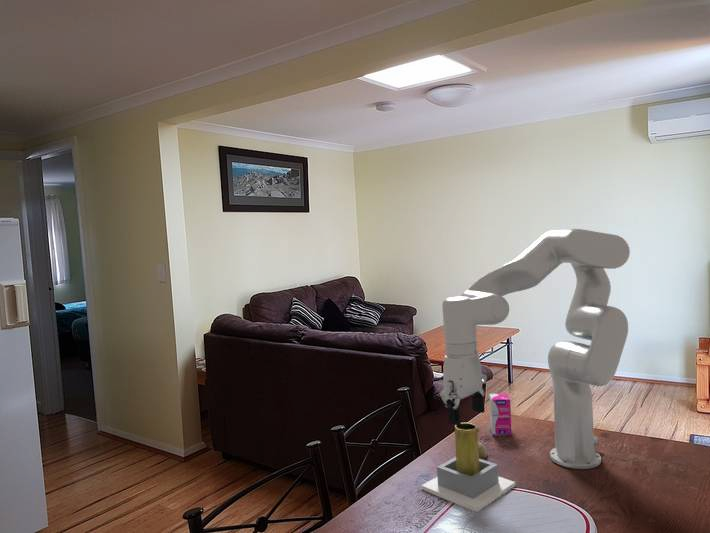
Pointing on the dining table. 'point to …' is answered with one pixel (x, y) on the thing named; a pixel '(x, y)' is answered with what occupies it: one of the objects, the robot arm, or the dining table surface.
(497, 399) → the supplement box
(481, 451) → the chocolate bunny
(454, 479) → the holder
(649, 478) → the dining table surface
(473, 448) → the vase
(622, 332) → the robot arm
